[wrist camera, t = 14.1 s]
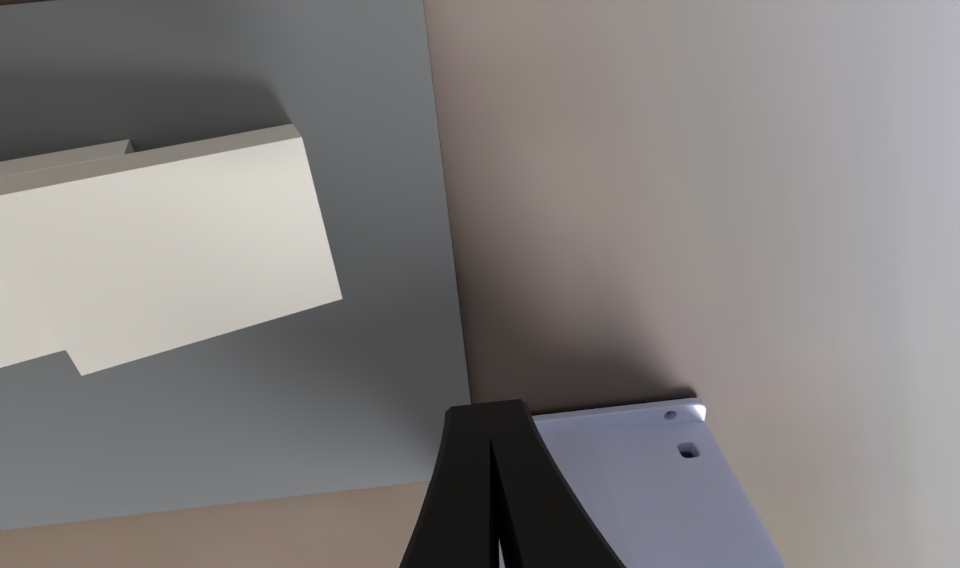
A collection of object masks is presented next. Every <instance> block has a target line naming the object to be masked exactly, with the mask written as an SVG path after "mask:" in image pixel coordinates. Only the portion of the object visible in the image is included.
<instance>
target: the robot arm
mask: <svg viewBox="0 0 960 568" xmlns="http://www.w3.org/2000/svg"><path fill="white" fill-rule="evenodd" d="M669 411H671V412H669ZM667 412H669V413H667ZM705 414H706V407H705V405H704V403H703V402H702V400H701V399H698V398H686V399H678V400H669V401H660V402H651V403H642V404H633V405H625V406H616V407H607V408H598V409H589V410H580V411H571V412H563V413H554V414H545V415H536V416H531V413H530V411H529V408H528V405H527V403H525V402H524V401H522V400H521V399H518V400H508V401H499V402H489V403H480V404H470V405H461V406H452V407H450V408H449V409H448V410H447V411H446V412H445V420H444V428H443V433H442V438H441V443H440V448H439V452H438V456H437V459H436V463H435V467H434V471H433V474H432V478H431V481H430V484H429V487H428V490H427V493H426V496H425V499H424V502H423V505H422V509H421V512H420V515H419V517H418V520H417V523H416V526H415V528H414V531H413V534H412V536H411V539H410V541H409V544H408V546H407V549H406V551H405V554H404V557H403V559H402V562H401V564H400V567H399V568H786V567H785V565H784V562H783V560H782V558H781V556H780V554H779V551H778V549H777V548H776V546H775V544H774V542H773V540H772V538H771V536H770V535H769V533H768V531H767V529H766V528H765V526H764V524H763V523H762V521H761V519H760V517H759V516H758V514H757V512H756V510H755V509H754V507H753V505H752V504H751V502H750V500H749V498H748V497H747V495H746V493H745V491H744V490H743V488H742V486H741V485H740V483H739V481H738V479H737V478H736V476H735V474H734V472H733V471H732V469H731V467H730V465H729V464H728V462H727V460H726V459H725V457H724V455H723V453H722V452H721V450H720V448H719V446H718V445H717V443H716V441H715V440H714V438H713V436H712V434H711V433H710V431H709V429H708V427H707V426H706V424H705V422H704V420H705Z"/></svg>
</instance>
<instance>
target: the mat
mask: <svg viewBox="0 0 960 568" xmlns="http://www.w3.org/2000/svg"><path fill="white" fill-rule="evenodd" d="M292 123H293V125H294V126H295V128H296V129H297V131H298V132H299V133H300V135H301V136H302V139H303V143H304V147H305V151H306V155H307V159H308V163H309V167H310V171H311V175H312V179H313V183H314V187H315V191H316V195H317V199H318V203H319V207H320V211H321V215H322V219H323V223H324V227H325V231H326V235H327V239H328V243H329V247H330V251H331V255H332V259H333V263H334V267H335V271H336V275H337V279H338V283H339V287H340V291H341V295H342V299H340V300H337V301H334V302H330V303H327V304H323V305H320V306H317V307H313V308H310V309H307V310H303V311H300V312H296V313H293V314H290V315H286V316H283V317H279V318H276V319H273V320H269V321H266V322H263V323H259V324H256V325H252V326H249V327H246V328H242V329H239V330H235V331H232V332H229V333H225V334H222V335H218V336H215V337H212V338H208V339H205V340H202V341H198V342H195V343H191V344H188V345H185V346H181V347H178V348H174V349H171V350H168V351H164V352H161V353H158V354H154V355H151V356H147V357H144V358H141V359H137V360H134V361H130V362H127V363H124V364H120V365H117V366H113V367H110V368H107V369H103V370H100V371H97V372H93V373H90V374H86V375H83V376H81V374H80V373H79V371H78V369H77V368H76V366H75V364H74V363H73V361H72V359H71V358H70V356H69V354H68V353H67V351H66V350H63V351H59V352H56V353H52V354H49V355H45V356H41V357H38V358H34V359H30V360H27V361H23V362H20V363H16V364H12V365H9V366H5V367H2V368H0V530H7V529H16V528H24V527H33V526H42V525H50V524H59V523H68V522H76V521H85V520H94V519H103V518H111V517H120V516H129V515H137V514H146V513H155V512H163V511H172V510H181V509H189V508H198V507H207V506H215V505H224V504H233V503H241V502H250V501H259V500H267V499H276V498H285V497H294V496H302V495H311V494H320V493H328V492H337V491H346V490H354V489H363V488H372V487H380V486H389V485H398V484H406V483H415V482H424V481H431V478H432V474H433V471H434V467H435V463H436V459H437V456H438V452H439V448H440V443H441V438H442V433H443V428H444V420H445V412H446V411H447V410H448V409H449V408H450V407H452V406H461V405H470V404H471V399H470V391H469V382H468V374H467V365H466V357H465V349H464V340H463V332H462V323H461V315H460V307H459V298H458V290H457V281H456V273H455V265H454V256H453V248H452V239H451V231H450V223H449V214H448V206H447V197H446V189H445V180H444V172H443V164H442V155H441V147H440V138H439V130H438V122H437V113H436V105H435V96H434V88H433V80H432V71H431V63H430V54H429V46H428V38H427V29H426V21H425V12H424V4H423V0H52V1H41V2H30V3H20V4H9V5H0V162H2V161H7V160H13V159H19V158H24V157H30V156H36V155H42V154H47V153H53V152H59V151H64V150H70V149H76V148H82V147H87V146H93V145H99V144H104V143H110V142H116V141H122V140H127V139H130V142H131V144H132V147H133V149H134V151H135V152H140V151H146V150H151V149H157V148H162V147H168V146H173V145H178V144H184V143H189V142H195V141H200V140H205V139H211V138H216V137H222V136H227V135H232V134H238V133H243V132H249V131H254V130H259V129H265V128H270V127H276V126H281V125H286V124H292Z"/></svg>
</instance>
